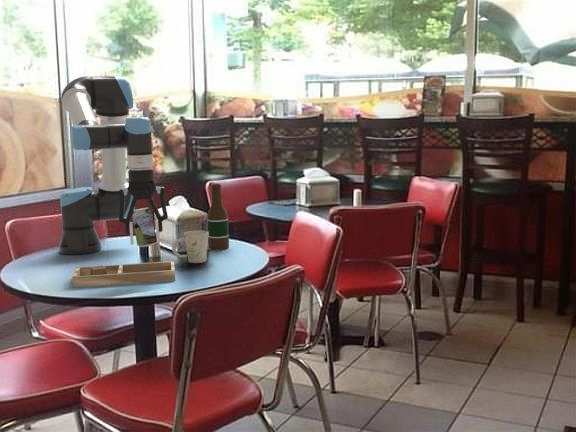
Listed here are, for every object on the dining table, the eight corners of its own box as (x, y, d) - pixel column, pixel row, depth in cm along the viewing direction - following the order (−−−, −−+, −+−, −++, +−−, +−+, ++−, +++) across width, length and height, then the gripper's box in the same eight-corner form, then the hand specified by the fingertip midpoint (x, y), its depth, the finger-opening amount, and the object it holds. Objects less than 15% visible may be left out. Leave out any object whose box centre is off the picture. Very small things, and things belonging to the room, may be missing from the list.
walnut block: (90, 279, 218) (89, 267, 217) (103, 277, 220) (102, 265, 219) (94, 282, 215) (93, 269, 214) (107, 280, 217) (106, 267, 216)
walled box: (78, 279, 223) (77, 267, 222) (174, 273, 228) (173, 261, 227) (73, 290, 210) (72, 277, 209) (175, 283, 215) (174, 270, 214)
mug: (211, 262, 241) (210, 233, 239) (174, 266, 238) (173, 236, 236) (207, 257, 249) (206, 229, 247) (171, 260, 245) (169, 232, 244)
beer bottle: (208, 246, 268) (205, 183, 264) (228, 245, 269) (226, 182, 265) (208, 250, 260) (205, 185, 256) (229, 249, 261) (227, 184, 257)
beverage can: (152, 248, 214) (150, 209, 212) (129, 248, 216) (127, 209, 214) (160, 244, 220) (158, 206, 218) (138, 244, 222) (136, 206, 220)
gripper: (105, 171, 209) (110, 247, 213) (174, 168, 212) (178, 243, 216) (107, 169, 216) (112, 242, 220) (174, 166, 219) (177, 238, 223)
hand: (145, 243), depth 218 cm, fingers closed on beverage can, 7 cm apart
